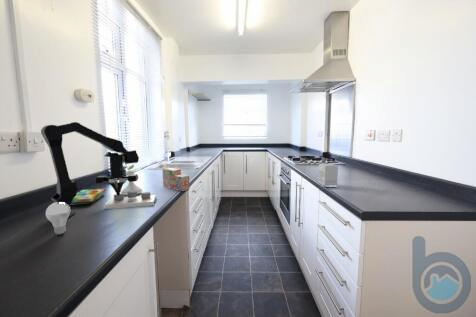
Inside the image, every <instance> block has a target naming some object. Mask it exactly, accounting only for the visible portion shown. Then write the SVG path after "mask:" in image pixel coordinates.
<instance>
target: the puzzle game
mask: <svg viewBox="0 0 476 317" xmlns="http://www.w3.org/2000/svg"><path fill="white" fill-rule="evenodd" d="M106 191H107V190H106V188H93V189H92V188H91V189H81V190H80V191H79V192H78V191H77V195H76V196H75V197H74V198H73V200H72V203H71V206H72V205H89V204H94V203H95V202H96V201H97V200H98V199H100V198H101V197H103V196H104V194H106Z"/></svg>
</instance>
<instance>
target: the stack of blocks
mask: <svg viewBox="0 0 476 317" xmlns="http://www.w3.org/2000/svg"><path fill="white" fill-rule="evenodd" d="M181 170H182V169H179V168H174V167H166V168H162V170H161V171H162V179H163V180H162V181H163V182H162V184H163V185H162V186H163V187H165V186H166V187H165V188H168V187H170V188H169V189H172V188H175V189H178V190H177V191H179V190H181V191H180V192H184V191H189V190H190V175H189V174H183V173H182V171H181ZM175 189H174V190H175Z"/></svg>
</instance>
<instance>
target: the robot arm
mask: <svg viewBox="0 0 476 317" xmlns="http://www.w3.org/2000/svg"><path fill="white" fill-rule="evenodd" d="M40 132H41V133H40V134H41V135H42V137H43V140H44V142H45V143H46V145H47V147H48V148H49V152H50V155H51V160H52V163H53V167H54V172H55V175H56V193H55V194H54V195H53V196H52V197H51V198H50V200H51V201H52V203H55V202H64V203H66V204H68V205H69V207H70V210H71V211H70V215H69V217H68V218H67V220H68V219H69V218H71V217H73V216H74V215H75V214H76V212H72V205H71V203H72V200H73V198H74V197H75V196H76V195H77V193H78V191H79V189H78V188H77V181H76V180H73V179H71V178H70V175H69V174H70V173H69V170H68V167H67V163H66V159H65V154H64V149H63V135H67V134H71V133H74V132H75V133H77V134H79V135H81V136H84V137H85V138H87V139H90V140H92V141H94V142H96V143H98V144H100V145H102V147H104V148H105V149H106V150H109V151H107V153H105V154H104V157H106V158H109V171H110V176H108V175H98V176H96V177H95V178H94V183H95V184H102V183H104V182H107V184H108V185H110V186H111V188H113V190H114V192H115V195H116V194H117V195H120V194H121V191H122V190H123V189H122V188H123V186H124V184H126V182H128V183H129V182H137V181H138V180H139V175H138V174H137V173H136V174H135V173H134V174H130V175H129V176H128V175H127V173H126V171H127V169H124V167H123V166H124V165H125V164H126V165H128V164H129V165H130V164H137V163H138V162H139V161H140V160H139V159H140V158H139V157H140V156H139V155H138V152H137V150H135V149H134V150H127V149H126V147H124V142H123V141H121V140H119V139H115V138H112V137H108V136H106V135H103V134H101V133H99V132H97V131H95V130H93V129H92V128H89V127H87V126H85V125H83V124H81V123H80V122H78V121H73V122H69V123H65V124H60V125H56V124H46V125H44V126H43V127H42V128H41V129H40ZM121 153H122V154H121ZM123 162H124V163H123Z"/></svg>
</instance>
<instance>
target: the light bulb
mask: <svg viewBox="0 0 476 317" xmlns="http://www.w3.org/2000/svg"><path fill="white" fill-rule="evenodd" d="M70 211H71V212H72V209H71V210H70V207H69V205H68V204H66V203H64V202H55V203H54V202H52V204H50V205H48V207H46V210H45V217H46V219H47V220H48V221H49V222H51V224H52V228H53V231H54V233H55V234H56V235H58V236H61V235H63V234H64V233H65V232H66V231H67V228H66V227H67V226H66V224H67V220H68V219H69V218H68V217H69V215H70ZM67 218H68V219H67Z"/></svg>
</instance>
